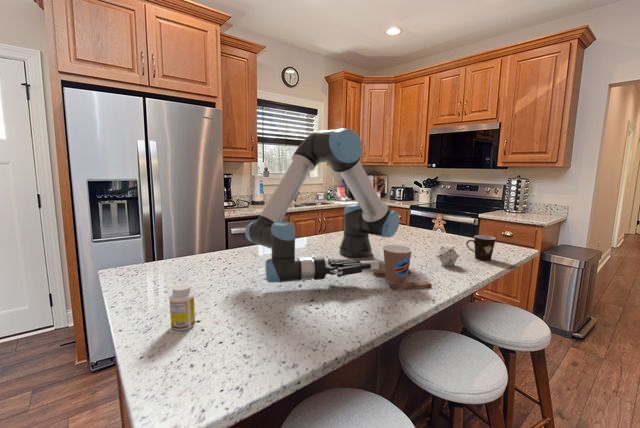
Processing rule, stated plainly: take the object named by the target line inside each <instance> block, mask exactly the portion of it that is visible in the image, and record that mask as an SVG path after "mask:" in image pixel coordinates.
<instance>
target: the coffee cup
mask: <svg viewBox="0 0 640 428" xmlns="http://www.w3.org/2000/svg"><path fill="white" fill-rule="evenodd" d="M382 250H383V261H384V270H385V276H384V277H385V281H387V283H390V284H394V283H407V279H408V275H409V274H408V270H410V263H411V257H412V252H413V248H411V247H409V246H406V245H402V244H398V245H397V244H387V245H384V246H382Z"/></svg>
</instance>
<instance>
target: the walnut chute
mask: <svg viewBox="0 0 640 428" xmlns="http://www.w3.org/2000/svg"><path fill="white" fill-rule="evenodd" d="M372 271H373V275H374V276H376V277H385V269H380V270H379V269H376V270H372ZM411 273H412V272H411V270H410V269H409V270H408V274H407V275H411ZM389 288H390V289H392V291H405V290H416V289H418V290H419V289H429V288H432V283H431V282H429V281H427V280H423V281H411V282H408V281H406V282H405V283H394V284H393V283H390V284H389Z"/></svg>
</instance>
